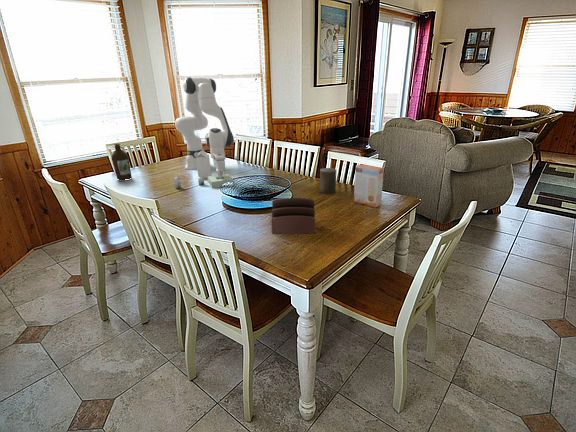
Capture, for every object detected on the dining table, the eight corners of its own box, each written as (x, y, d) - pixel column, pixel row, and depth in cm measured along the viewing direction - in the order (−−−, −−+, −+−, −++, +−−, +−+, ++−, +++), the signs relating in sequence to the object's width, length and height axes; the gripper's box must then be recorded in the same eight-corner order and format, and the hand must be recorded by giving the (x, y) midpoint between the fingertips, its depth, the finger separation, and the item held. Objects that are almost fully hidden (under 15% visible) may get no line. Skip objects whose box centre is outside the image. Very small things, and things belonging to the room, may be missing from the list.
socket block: (208, 182, 230) (207, 176, 228) (228, 179, 234) (228, 173, 233) (212, 188, 218) (211, 182, 216) (233, 185, 222) (233, 179, 221)
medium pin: (175, 187, 221) (173, 177, 218) (180, 186, 222) (179, 176, 219) (175, 189, 217) (173, 178, 215) (181, 188, 219) (179, 177, 216)
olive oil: (114, 179, 240) (106, 144, 231) (129, 176, 247) (122, 141, 237) (119, 182, 233) (111, 146, 223) (135, 179, 240) (127, 143, 230)
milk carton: (211, 175, 244) (208, 149, 236) (208, 178, 237) (205, 151, 230) (201, 175, 244) (198, 149, 237) (198, 178, 238) (195, 151, 230)
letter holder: (273, 225, 164) (271, 197, 159) (314, 224, 164) (314, 197, 158) (271, 234, 155) (270, 205, 149) (315, 233, 154) (315, 204, 149)
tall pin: (217, 183, 227) (215, 168, 223) (222, 182, 228) (221, 167, 224) (218, 184, 224) (217, 169, 220) (224, 183, 225) (222, 169, 221)
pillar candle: (334, 194, 201) (335, 170, 195) (318, 193, 203) (319, 169, 197) (336, 189, 210) (337, 165, 204) (320, 188, 212) (320, 165, 206)
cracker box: (381, 205, 184) (384, 167, 176) (375, 208, 180) (378, 170, 172) (359, 199, 193) (361, 163, 185) (353, 202, 189) (355, 165, 181)
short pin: (198, 184, 226) (197, 177, 224) (204, 183, 227) (203, 176, 225) (199, 185, 222) (198, 178, 221) (205, 185, 224) (204, 177, 222)
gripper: (209, 151, 226) (212, 172, 232) (215, 158, 209) (218, 180, 214) (219, 151, 228) (221, 170, 234) (226, 157, 211) (228, 178, 216)
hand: (219, 175), depth 224 cm, fingers open, 8 cm apart
